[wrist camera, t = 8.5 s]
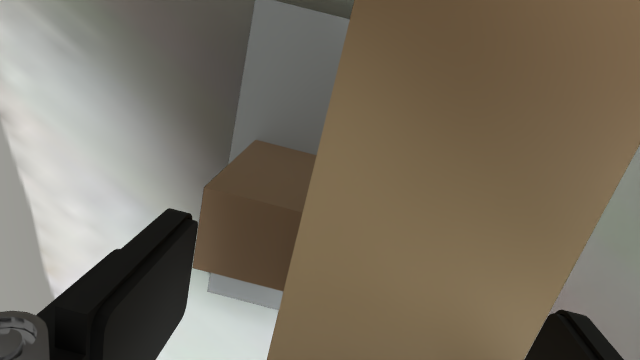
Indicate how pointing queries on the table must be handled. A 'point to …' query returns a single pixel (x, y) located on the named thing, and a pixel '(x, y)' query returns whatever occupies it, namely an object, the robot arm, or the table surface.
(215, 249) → the stand
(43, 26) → the table surface
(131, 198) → the table surface
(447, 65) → the oak bar
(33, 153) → the table surface
